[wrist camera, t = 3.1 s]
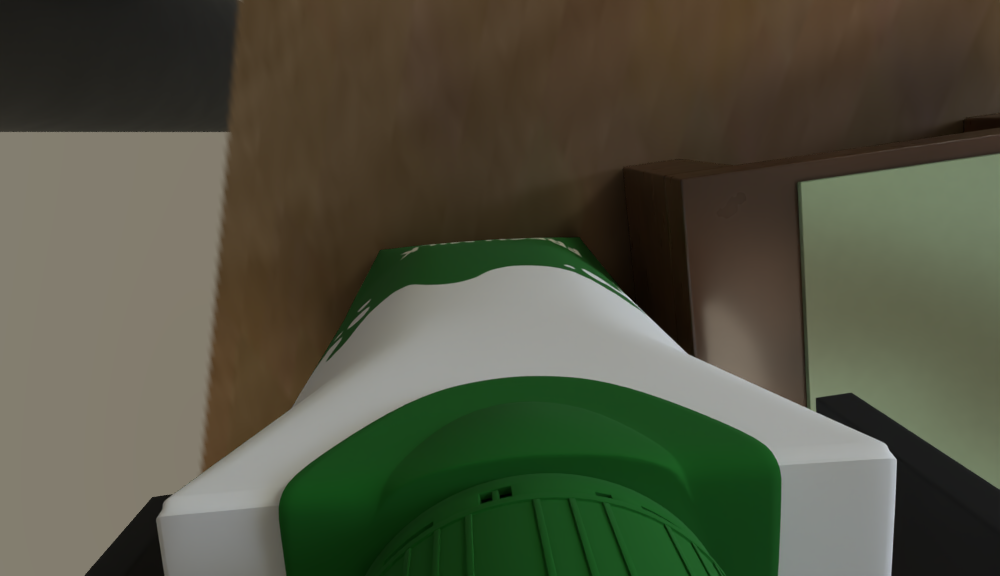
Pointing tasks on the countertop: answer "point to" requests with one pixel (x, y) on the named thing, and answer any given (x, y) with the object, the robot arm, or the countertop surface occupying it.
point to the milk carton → (530, 444)
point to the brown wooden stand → (839, 277)
